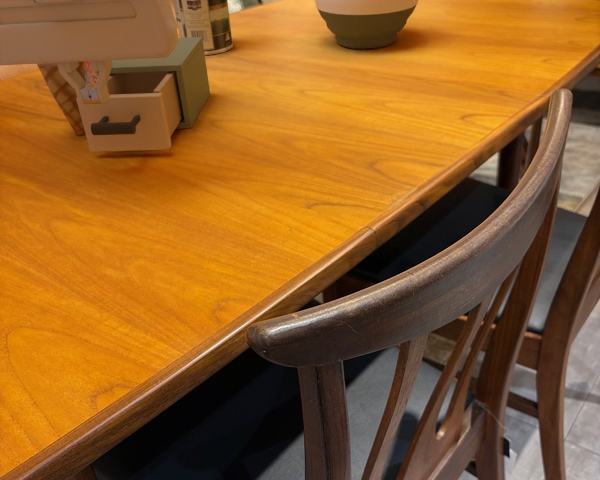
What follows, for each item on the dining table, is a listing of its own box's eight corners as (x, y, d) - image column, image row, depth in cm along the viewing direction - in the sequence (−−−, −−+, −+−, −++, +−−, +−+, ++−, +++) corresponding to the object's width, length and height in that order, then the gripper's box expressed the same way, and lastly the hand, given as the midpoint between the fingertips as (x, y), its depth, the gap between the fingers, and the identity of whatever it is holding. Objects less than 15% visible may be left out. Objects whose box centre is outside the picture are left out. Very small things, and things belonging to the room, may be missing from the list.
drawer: (161, 163, 74) (150, 108, 70) (78, 165, 75) (62, 110, 71) (191, 112, 88) (183, 63, 84) (121, 114, 89) (110, 66, 85)
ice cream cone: (56, 129, 88) (22, 17, 79) (100, 120, 90) (71, 10, 81) (61, 144, 83) (25, 26, 74) (107, 135, 85) (78, 19, 76)
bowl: (390, 25, 127) (392, -27, 121) (436, 46, 112) (441, -11, 106) (301, 37, 122) (299, -15, 117) (336, 62, 107) (335, 2, 102)
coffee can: (225, 39, 125) (216, -39, 117) (239, 50, 117) (230, -32, 109) (176, 46, 122) (162, -33, 114) (186, 58, 115) (173, -26, 106)
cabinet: (191, 128, 85) (180, 64, 80) (110, 130, 86) (95, 68, 81) (210, 94, 97) (202, 36, 92) (139, 96, 98) (127, 39, 93)
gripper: (-63, -30, 57) (-10, 115, 65) (151, -43, 55) (178, 108, 63) (-29, -40, 62) (16, 96, 70) (167, -53, 60) (191, 89, 68)
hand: (95, 102), depth 67 cm, fingers closed
